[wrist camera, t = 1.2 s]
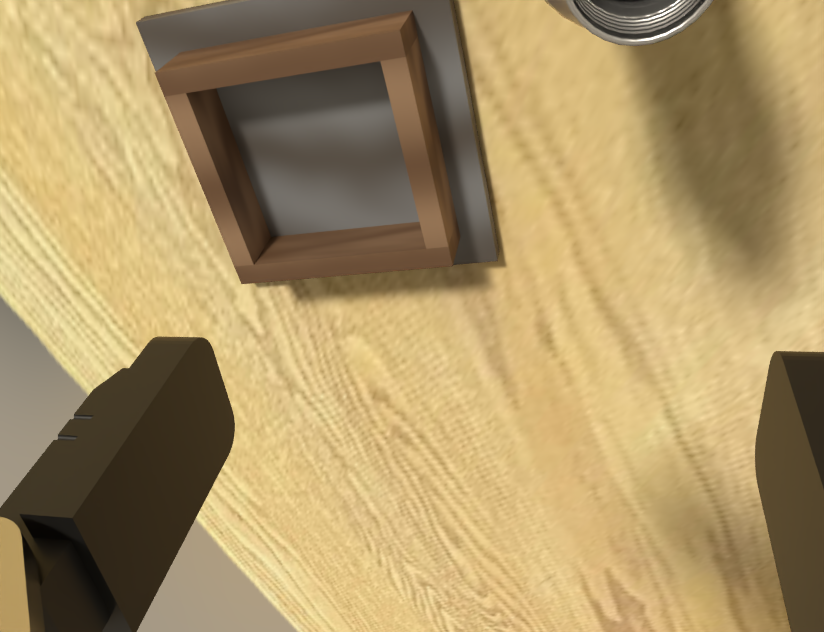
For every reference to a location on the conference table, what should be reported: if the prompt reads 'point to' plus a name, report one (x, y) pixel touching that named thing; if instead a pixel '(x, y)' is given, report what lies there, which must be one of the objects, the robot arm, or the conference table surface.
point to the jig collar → (328, 133)
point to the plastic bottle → (632, 18)
